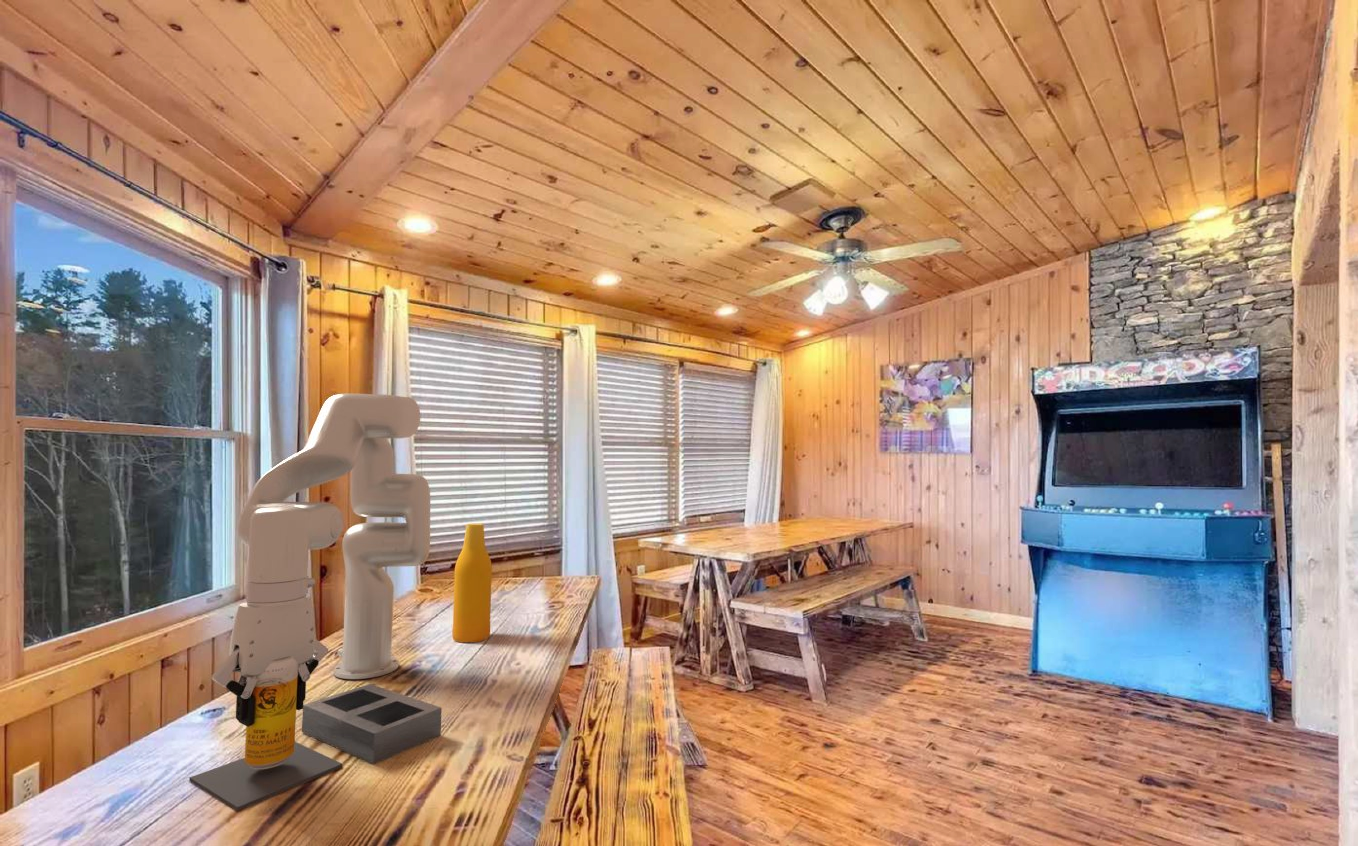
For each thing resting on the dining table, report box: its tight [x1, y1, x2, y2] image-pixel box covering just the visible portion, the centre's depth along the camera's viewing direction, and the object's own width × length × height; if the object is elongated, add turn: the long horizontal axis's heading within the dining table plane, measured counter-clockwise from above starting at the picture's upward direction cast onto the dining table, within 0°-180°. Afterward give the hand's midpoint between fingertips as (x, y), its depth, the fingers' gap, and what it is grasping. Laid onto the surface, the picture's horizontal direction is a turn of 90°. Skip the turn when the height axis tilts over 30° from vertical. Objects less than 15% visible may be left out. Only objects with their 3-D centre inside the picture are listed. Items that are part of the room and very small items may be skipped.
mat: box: [188, 741, 344, 812], centre depth 91 cm, size 14×14×1 cm
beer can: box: [244, 656, 298, 769], centre depth 92 cm, size 6×6×15 cm
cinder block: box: [301, 683, 443, 765], centre depth 105 cm, size 20×12×4 cm, turn 58°
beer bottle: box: [451, 522, 493, 643], centre depth 162 cm, size 9×9×29 cm
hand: (271, 714), depth 92 cm, fingers closed on beer can, 6 cm apart
